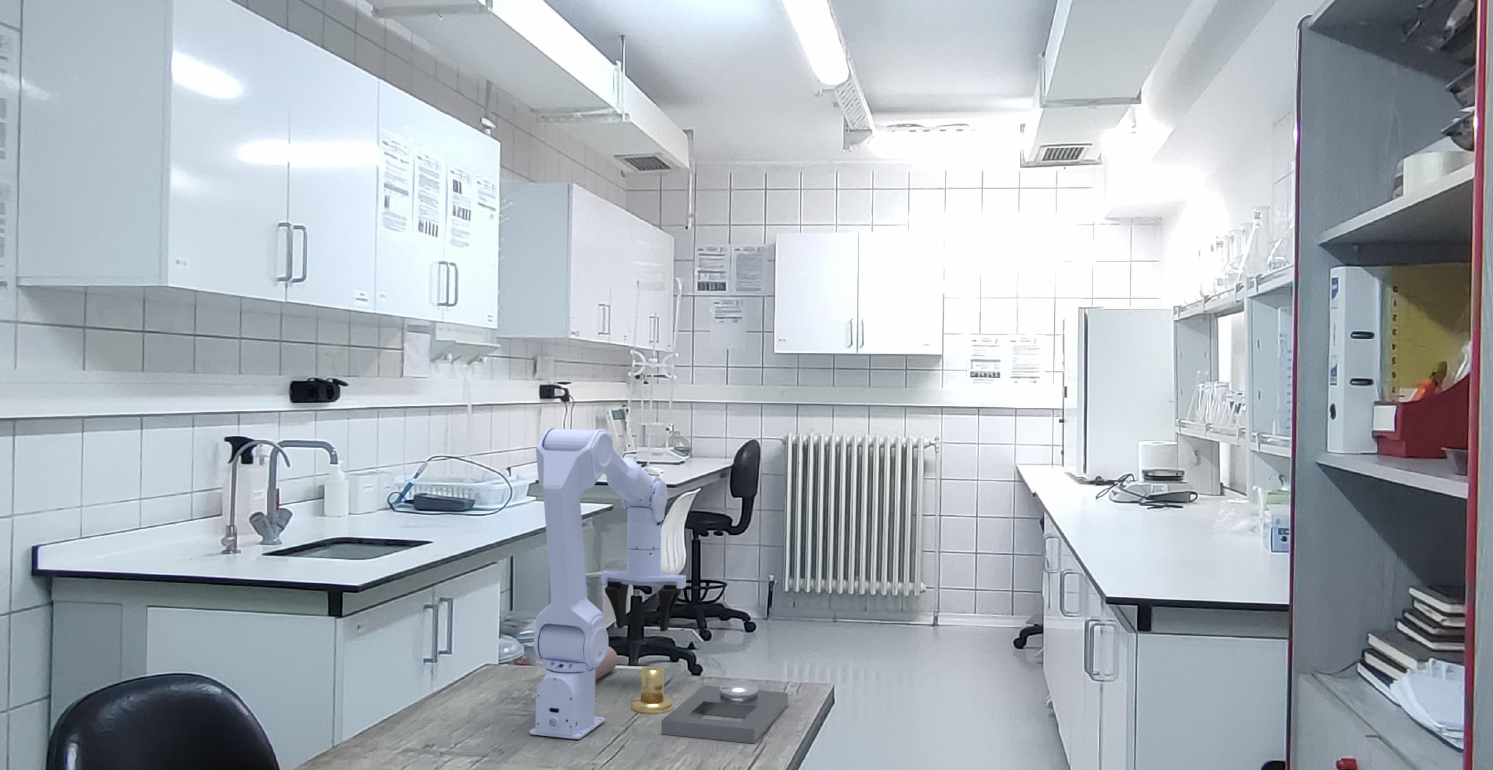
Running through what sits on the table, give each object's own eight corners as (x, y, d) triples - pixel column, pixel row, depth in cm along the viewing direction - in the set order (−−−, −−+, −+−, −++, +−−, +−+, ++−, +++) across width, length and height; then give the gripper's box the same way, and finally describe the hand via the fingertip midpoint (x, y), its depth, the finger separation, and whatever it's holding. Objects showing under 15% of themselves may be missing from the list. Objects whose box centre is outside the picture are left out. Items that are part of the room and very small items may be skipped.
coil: (579, 671, 179) (621, 647, 196) (552, 666, 180) (597, 642, 197) (575, 700, 179) (618, 673, 196) (549, 694, 180) (594, 668, 197)
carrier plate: (754, 743, 156) (754, 718, 156) (661, 734, 160) (661, 710, 160) (787, 705, 175) (788, 683, 175) (704, 697, 179) (704, 676, 179)
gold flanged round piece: (664, 716, 169) (664, 675, 169) (625, 712, 171) (625, 672, 171) (678, 704, 175) (679, 665, 175) (640, 701, 177) (640, 662, 177)
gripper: (692, 547, 187) (691, 626, 187) (612, 542, 191) (611, 621, 191) (678, 552, 181) (677, 635, 180) (596, 548, 184) (595, 629, 184)
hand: (642, 628), depth 185 cm, fingers open, 7 cm apart
